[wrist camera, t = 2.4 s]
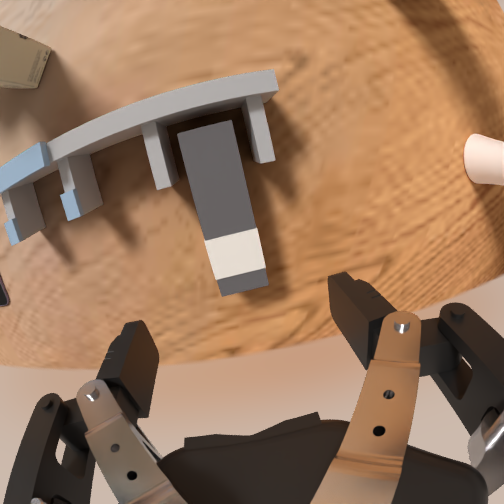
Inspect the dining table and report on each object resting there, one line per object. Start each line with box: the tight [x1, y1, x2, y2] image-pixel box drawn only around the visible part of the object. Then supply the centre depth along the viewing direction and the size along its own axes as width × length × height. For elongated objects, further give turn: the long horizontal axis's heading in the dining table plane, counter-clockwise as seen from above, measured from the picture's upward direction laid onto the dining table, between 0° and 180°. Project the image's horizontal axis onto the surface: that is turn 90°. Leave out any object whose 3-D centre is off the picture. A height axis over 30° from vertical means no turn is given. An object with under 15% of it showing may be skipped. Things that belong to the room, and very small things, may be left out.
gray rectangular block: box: [177, 120, 269, 297], centre depth 20 cm, size 12×4×4 cm, turn 12°
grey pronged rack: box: [0, 69, 279, 245], centre depth 17 cm, size 24×6×6 cm, turn 102°
